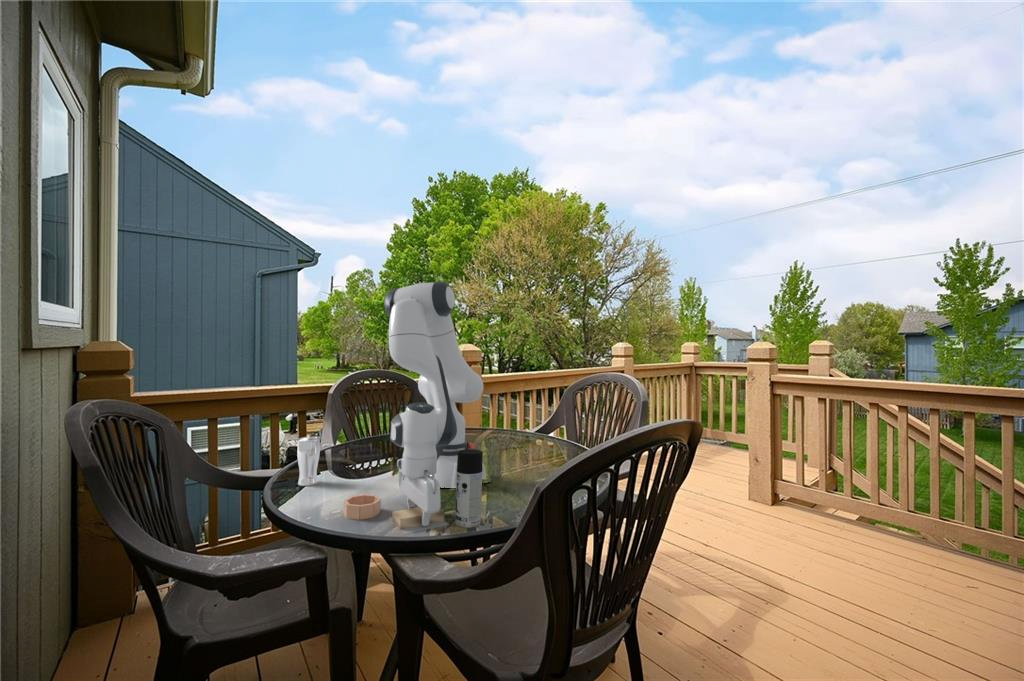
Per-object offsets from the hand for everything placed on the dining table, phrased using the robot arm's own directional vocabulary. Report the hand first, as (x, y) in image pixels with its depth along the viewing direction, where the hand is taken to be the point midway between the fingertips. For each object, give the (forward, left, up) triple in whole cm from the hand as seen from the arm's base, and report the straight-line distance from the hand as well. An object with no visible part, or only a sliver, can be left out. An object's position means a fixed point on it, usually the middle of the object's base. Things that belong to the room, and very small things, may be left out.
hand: (418, 519), depth 123 cm
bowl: (+11, -13, -2) cm, 17 cm away
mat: (0, 0, -2) cm, 2 cm away
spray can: (-11, +7, -2) cm, 13 cm away
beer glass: (+18, -53, -2) cm, 56 cm away
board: (0, 0, 0) cm, 0 cm away
